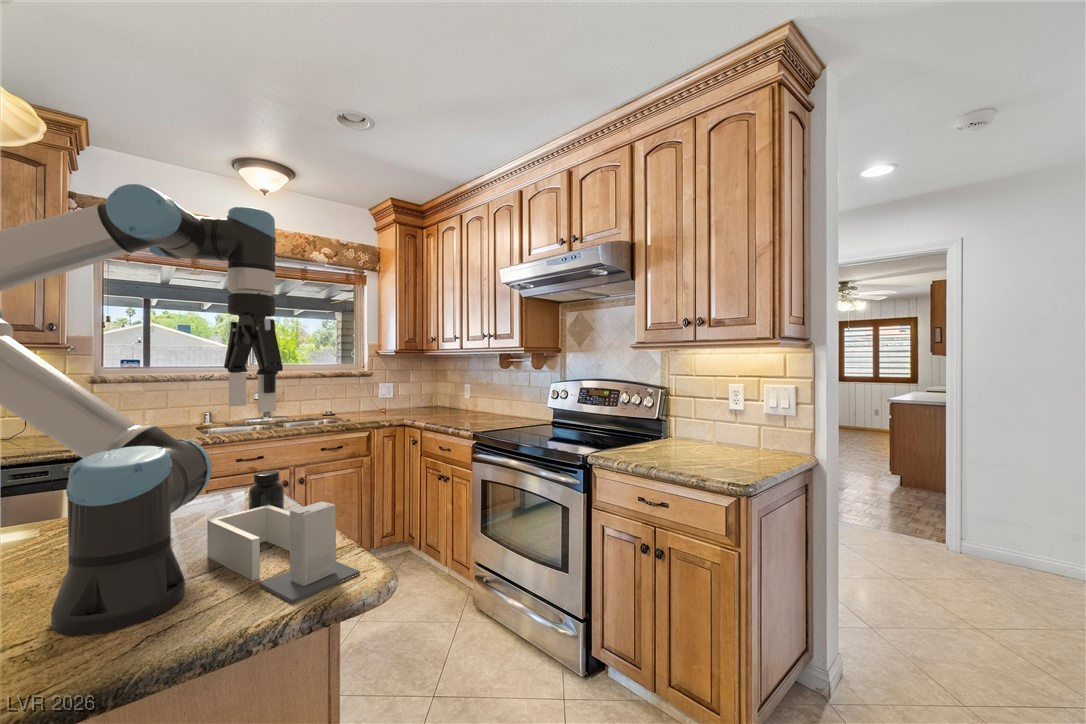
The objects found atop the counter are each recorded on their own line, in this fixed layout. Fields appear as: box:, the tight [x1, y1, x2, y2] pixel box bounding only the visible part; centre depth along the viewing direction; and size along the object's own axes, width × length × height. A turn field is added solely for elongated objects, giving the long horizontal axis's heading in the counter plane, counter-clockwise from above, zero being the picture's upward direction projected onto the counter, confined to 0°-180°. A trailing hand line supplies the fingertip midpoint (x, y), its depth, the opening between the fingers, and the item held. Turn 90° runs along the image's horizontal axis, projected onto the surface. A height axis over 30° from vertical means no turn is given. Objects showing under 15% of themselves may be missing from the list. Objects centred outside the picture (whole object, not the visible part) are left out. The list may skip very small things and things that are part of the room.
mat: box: [258, 561, 361, 604], centre depth 82 cm, size 12×10×1 cm
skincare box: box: [289, 501, 337, 586], centre depth 81 cm, size 6×4×12 cm
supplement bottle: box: [248, 470, 285, 510], centre depth 107 cm, size 7×7×12 cm
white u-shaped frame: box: [206, 505, 290, 581], centre depth 91 cm, size 11×17×7 cm, turn 56°
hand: (251, 408), depth 89 cm, fingers open, 13 cm apart
